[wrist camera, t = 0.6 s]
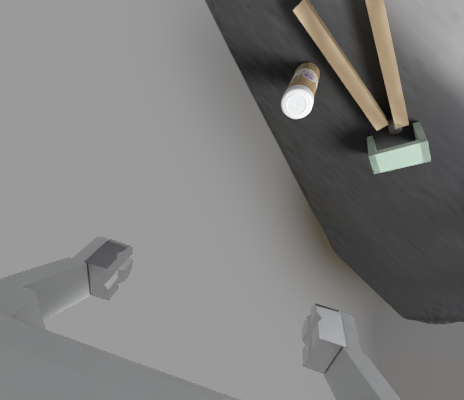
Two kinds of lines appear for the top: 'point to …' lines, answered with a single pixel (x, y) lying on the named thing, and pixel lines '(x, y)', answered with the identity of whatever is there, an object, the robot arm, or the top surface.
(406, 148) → the sleeve
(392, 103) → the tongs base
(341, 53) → the tong arm
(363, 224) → the top surface
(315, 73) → the sprinkles bottle
